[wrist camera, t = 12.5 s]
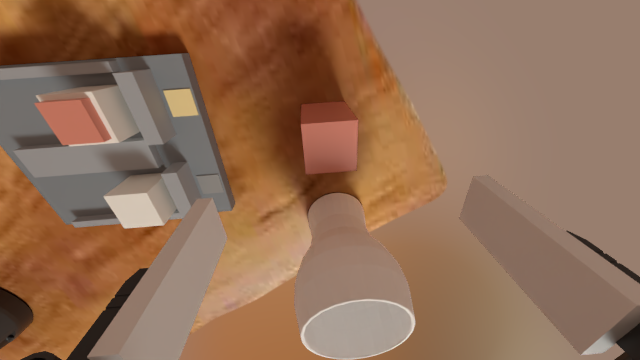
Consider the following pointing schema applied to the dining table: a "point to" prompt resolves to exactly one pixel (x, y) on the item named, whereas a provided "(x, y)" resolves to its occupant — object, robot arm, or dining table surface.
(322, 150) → the cap
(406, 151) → the dining table surface
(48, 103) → the block
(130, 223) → the block
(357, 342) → the cup
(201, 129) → the panel
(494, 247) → the robot arm
